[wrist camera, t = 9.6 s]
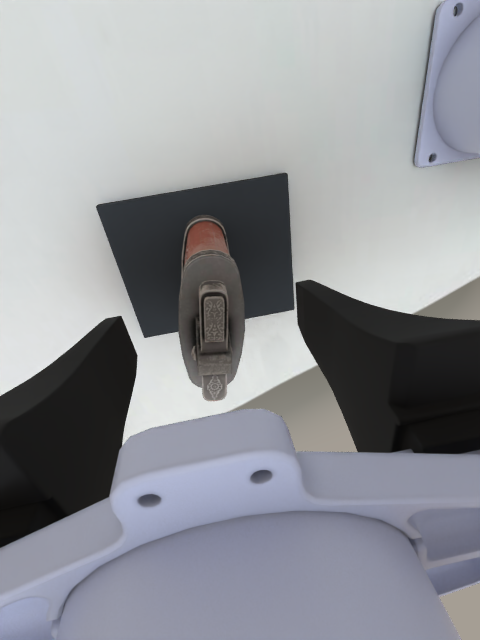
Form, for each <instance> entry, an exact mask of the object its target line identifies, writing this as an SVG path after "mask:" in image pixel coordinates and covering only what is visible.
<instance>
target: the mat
mask: <svg viewBox="0 0 480 640" xmlns="http://www.w3.org/2000/svg"><path fill="white" fill-rule="evenodd" d="M96 208H97V211H98V213H99V216H100V219H101V222H102V224H103V227H104V230H105V232H106V235H107V238H108V241H109V243H110V246H111V249H112V251H113V254H114V257H115V259H116V262H117V265H118V268H119V270H120V273H121V276H122V278H123V281H124V284H125V287H126V289H127V292H128V295H129V297H130V300H131V303H132V305H133V308H134V311H135V314H136V316H137V319H138V322H139V324H140V327H141V330H142V333H143V335H144V338H147V337H152V336H157V335H162V334H168V333H173V332H178V331H179V295H180V288H181V281H182V279H181V278H182V248H183V241H184V234H185V228H186V226H187V223H188V222H189V221H190V220H191V219H193V218H195V217H197V216H201V215H209V216H213V217H215V218H217V219H218V220H219V221H220V222H221V223H222V224H223V227H224V229H225V232H226V237H227V243H228V248H229V254H230V257H231V258H232V259H233V260H234V261H235V263H236V266H237V268H238V271H239V275H240V281H241V286H242V292H243V298H244V315H245V319H247V318H252V317H258V316H263V315H268V314H274V313H279V312H284V311H289V310H294V294H293V273H292V253H291V233H290V213H289V193H288V174H286V173H282V174H276V175H270V176H264V177H258V178H252V179H247V180H241V181H235V182H229V183H223V184H217V185H211V186H205V187H200V188H194V189H188V190H182V191H176V192H170V193H164V194H158V195H152V196H147V197H141V198H135V199H129V200H123V201H117V202H111V203H105V204H100V205H97V206H96Z"/></svg>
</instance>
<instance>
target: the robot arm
mask: <svg viewBox="0 0 480 640" xmlns="http://www.w3.org/2000/svg"><path fill="white" fill-rule="evenodd" d="M455 6H457V8H458V12H457V15H456V16H454V14H453V10H454V7H455ZM431 154H432V155H433V157H432V159H431V160H430V161H429V156H430V155H431ZM475 158H480V0H446V1H444V2H442V3H441V4H440V5H439V7H438V9H437V11H436V16H435V22H434V29H433V36H432V43H431V50H430V57H429V63H428V70H427V77H426V84H425V91H424V98H423V105H422V111H421V118H420V125H419V132H418V139H417V146H416V153H415V159H414V162H415V165H416V166H417V167H429V166H435V165H441V164H446V163H452V162H458V161H464V160H469V159H475ZM296 299H297V318H298V326H299V328H300V331H301V334H302V336H303V338H304V341H305V343H306V345H307V347H308V348H309V350H310V352H311V354H312V355H313V357H314V359H315V360H316V362H317V364H318V365H319V367H320V369H321V371H322V372H323V374H324V376H325V377H326V379H327V381H328V383H329V385H330V387H331V388H332V390H333V393H334V395H335V397H336V400H337V402H338V404H339V407H340V409H341V411H342V413H343V416H344V419H345V421H346V423H347V426H348V428H349V431H350V433H351V436H352V438H353V441H354V444H355V446H356V449H357V451H358V452H307V451H304V452H303V451H295V448H294V445H293V442H292V439H291V436H290V433H289V430H288V428H287V426H286V424H285V422H284V420H283V418H282V416H279V415H277V414H275V413H272V412H271V411H268V410H266V409H242V410H237V411H232V412H227V413H222V414H217V415H212V416H208V417H203V418H198V419H193V420H188V421H183V422H178V423H173V424H169V425H164V426H159V427H154V428H150V429H148V430H145V431H143V432H140V433H138V434H136V435H133V436H131V437H129V438H128V440H127V441H126V442H125V444H124V445H123V446H122V440H123V432H124V426H125V421H126V417H127V413H128V408H129V404H130V400H131V396H132V392H133V387H134V383H135V378H136V370H137V353H136V351H135V348H134V346H133V343H132V341H131V338H130V336H129V334H128V331H127V329H126V326H125V324H124V321H123V319H122V316H117V317H112V318H107V319H105V320H103V321H102V322H101V323H99V324H98V325H97V326H96V327H95V328H94V329H92V330H91V331H90V332H89V333H88V334H87V335H86V336H84V337H83V338H82V339H81V340H80V341H79V342H78V343H76V344H75V345H74V346H73V347H72V348H70V349H69V350H68V351H67V352H66V353H64V354H63V355H62V356H61V357H59V358H58V359H57V360H56V361H54V362H53V363H52V364H50V365H49V366H48V367H46V368H45V369H43V370H42V371H41V372H39V373H38V374H36V375H35V376H33V377H32V378H30V379H29V380H27V381H25V382H24V383H22V384H20V385H19V386H17V387H15V388H13V389H12V390H10V391H8V392H7V393H5V394H3V395H1V396H0V640H461V638H460V636H459V634H458V632H457V630H456V628H455V626H454V624H453V623H452V621H451V619H450V617H449V615H448V613H447V611H446V609H445V607H444V605H443V604H442V602H441V600H440V598H439V597H441V596H444V595H447V594H450V593H453V592H455V591H458V590H461V589H464V588H467V587H470V586H473V585H476V584H479V583H480V320H458V319H443V318H433V317H425V316H418V315H412V314H407V313H402V312H396V311H392V310H388V309H384V308H381V307H377V306H373V305H370V304H367V303H364V302H362V301H359V300H356V299H354V298H351V297H349V296H346V295H344V294H341V293H339V292H337V291H335V290H333V289H330V288H328V287H326V286H324V285H322V284H320V283H317V282H315V281H312V280H306V281H301V282H296Z"/></svg>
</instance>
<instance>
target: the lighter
mask: <svg viewBox="0 0 480 640" xmlns="http://www.w3.org/2000/svg"><path fill="white" fill-rule="evenodd" d="M181 279H182V281H181V288H180V295H179V338H180V344H181V350H182V356H183V360H184V363H185V366H186V369H187V372H188V375H189V378H190V380H191V381H192V383H194V384H195V385H197V386H198V387H201V388H202V394H203V398H204V399H205V400H207V401H219V400H222V399H224V398H225V397H226V394H227V385H228V384H229V383H230V382H231V381H232V380H233V379H234V377H235V375H236V372H237V368H238V365H239V361H240V358H241V354H242V347H243V340H244V332H245V315H244V298H243V292H242V286H241V281H240V275H239V271H238V268H237V266H236V263H235V261H234V260H233V259H232V258H231V257H230V254H229V248H228V243H227V237H226V232H225V229H224V227H223V224H222V223H221V222H220V221H219V220H218V219H217V218H215V217H213V216H209V215H201V216H197V217H195V218H193V219H191V220H190V221H189V222H188V223H187V226H186V228H185V234H184V241H183V248H182V278H181Z"/></svg>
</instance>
